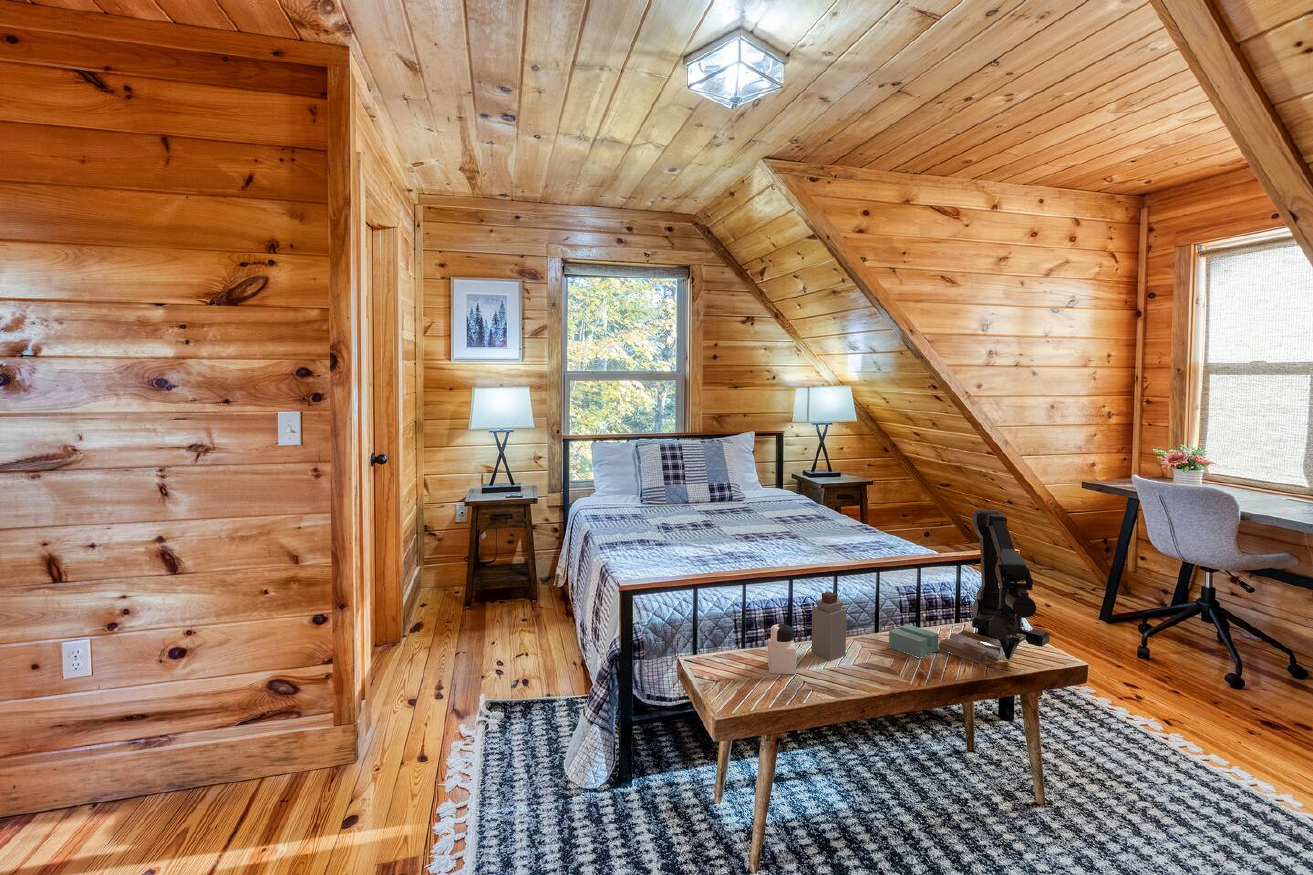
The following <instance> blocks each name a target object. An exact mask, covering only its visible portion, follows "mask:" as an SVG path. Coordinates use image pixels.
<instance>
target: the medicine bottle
mask: <svg viewBox="0 0 1313 875" xmlns="http://www.w3.org/2000/svg"><path fill="white" fill-rule="evenodd" d="M767 666H768V667H767V668H768V671H769V674H774V675H775V674H776V675H777V674H778V675H797V647H796V645H795V640H794V628H793V627H792V626H790V625H789V624H785V623H777V624H773V625H772V626H771V627H770V638H768V639H767Z"/></svg>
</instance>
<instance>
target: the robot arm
mask: <svg viewBox="0 0 1313 875" xmlns="http://www.w3.org/2000/svg"><path fill="white" fill-rule="evenodd" d="M971 523H972V524H971V525H973V531H974V532H975V533H976V535H977V536H978V538H979V550H980V573H981V574H980V575H981V585H980V588H979V589H978V590H977V592H976V593H975V594H976V595H975V599H974V601H973V603H972V605H971V607H970V608H971V615H972V616H973V618H972V620H971V627H972V628H974V629H977V630H976V631H975V632H974V633H976V634H979V635H982V636H986V637H989V638H992V639H996V640H999V641H1000V643H1001V646H1002V648H1003V655H1004V657H1005V659H1006V660H1009V661H1010V660H1011V659H1012V657H1013V655H1014V653H1015V652H1016V651H1017V648H1018V646H1019V644H1020V643H1022V642H1024V641H1026V642H1027V644H1029V645H1033V646H1036V647H1039V648H1040V647H1043V646H1046V645H1047V644H1049V643H1050V641H1051V639H1050V638H1051V636H1050V634H1049V633H1048V631H1045V630H1042V629H1038V628H1032V629H1031V630H1026V629H1023V628H1024V622H1022V621H1023V619H1027V618H1031V617H1032V616H1034V615H1035V613H1036V611H1037V604H1036V602H1035V601H1034V600H1033V599H1032V598H1031V597H1030V595H1029V592H1028V591H1033V590H1034V589H1033V588H1034V587H1033V585H1034V581H1033V578H1032V577H1033V576H1032V574H1031V570H1030V569H1029V566H1027V564H1026V562H1025V559H1024V558H1023V557H1022V556H1021V555H1020V554H1019V553H1017V552H1016V549H1015V546H1014V543H1013V540H1012V537H1011V534H1010V531H1009V528H1008V525H1007V524H1008V520H1007V516H1006V514H1005V513H1000V511H999V510H996V509H976V510H975V511H974V512H972V513H971ZM1024 582H1025V583H1024Z"/></svg>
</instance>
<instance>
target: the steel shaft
mask: <svg viewBox="0 0 1313 875" xmlns="http://www.w3.org/2000/svg"><path fill="white" fill-rule="evenodd" d="M949 640H952V641H955V642H958V643H962V644H965V645H968V646H971V647H974V648H977V649H980V650H984V651H987V658H988V657H989V658H992V659H994V660H998V661H999V660H1001V659H1003V657H1004V656H1003V655H1004V651H1003V648H1002V647H999V646H995V645H992V644H989V643H986V642H982V641H979V640H976V639H972V638H969V637H966V636H963V635H959V634H958V633H956V632H952V633H951V634H950V635H949Z"/></svg>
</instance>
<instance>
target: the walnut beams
mask: <svg viewBox="0 0 1313 875" xmlns="http://www.w3.org/2000/svg"><path fill="white" fill-rule="evenodd" d="M957 634H959V635H963V636H966V637H969V638H972V639H976V640H979V641H982V642H986V643H989V644H992V645H995V646H999V647H1002V646H1001V643H1000V641H999V640H996V639H992V638H989V637H986V636H982V635H979V634H976V633H975V632H972V631H968V630H966V629H964V630H962V631H960V632H958V633H957ZM938 651H941V652H944V653H947V652H950V653H952V654H951V655H953V654H954V656H956V655H957V656H956V657H960V658H963V659H965V660H968V661H971V662H974V663H978V664H981V665H982V663H984V662H986V661H988V656H987V651H984V650H980V649H977V648H974V647H971V646H968V645H965V644H962V643H958V642H955V641H952V640H949V639H948V638H945V639H942V640H941V641H938ZM950 653H949V654H950Z"/></svg>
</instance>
